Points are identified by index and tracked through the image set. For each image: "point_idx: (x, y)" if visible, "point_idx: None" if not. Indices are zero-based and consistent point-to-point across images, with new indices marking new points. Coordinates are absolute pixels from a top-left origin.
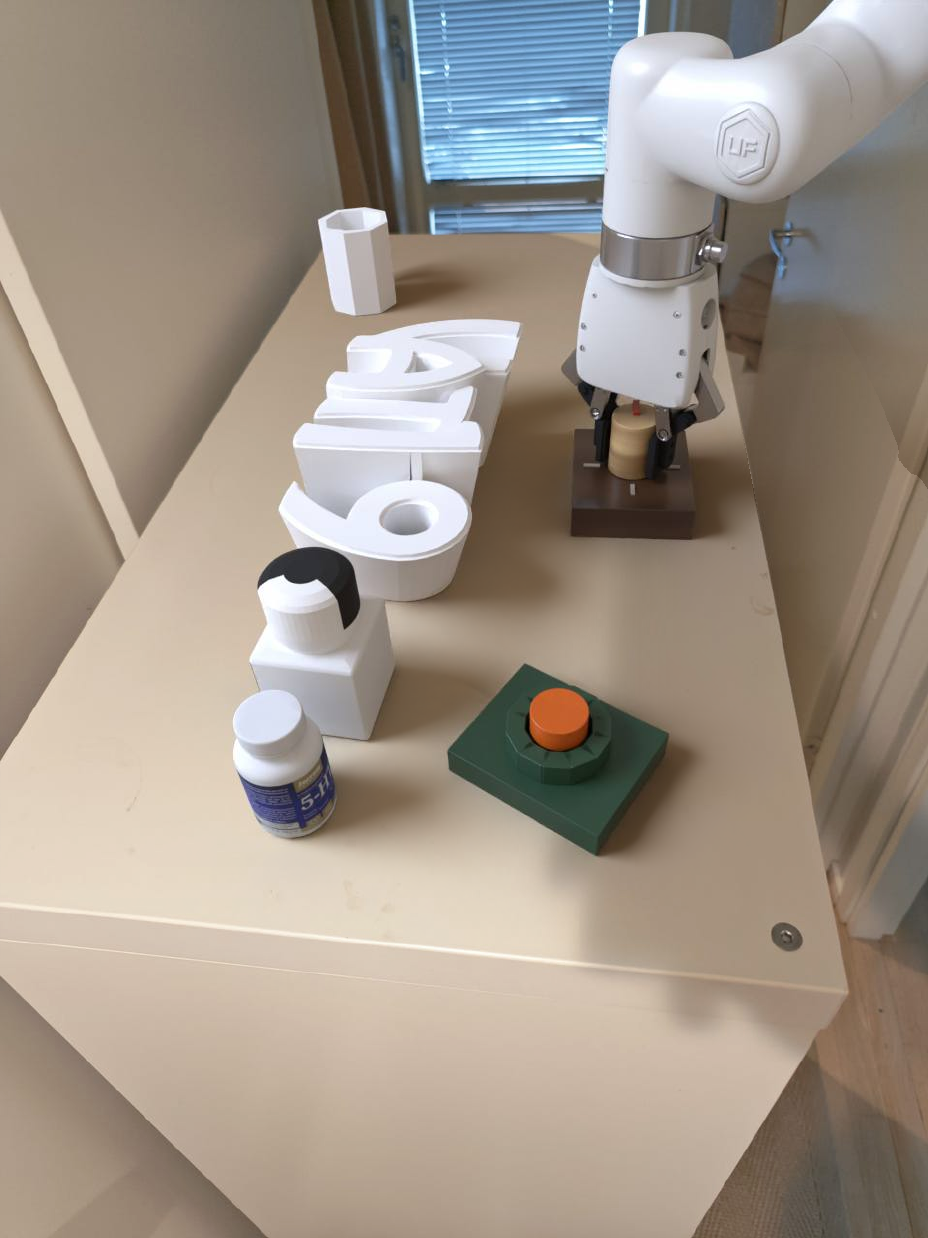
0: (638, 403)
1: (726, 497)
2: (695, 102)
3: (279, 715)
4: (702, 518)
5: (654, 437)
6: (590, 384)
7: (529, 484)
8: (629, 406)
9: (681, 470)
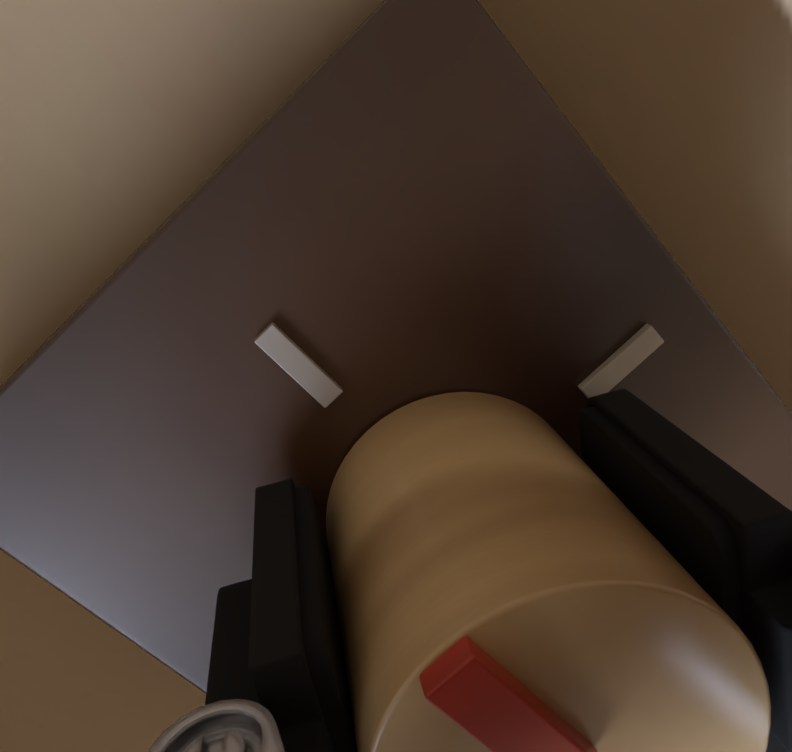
0: (511, 706)
1: (755, 123)
2: None
3: None
4: (743, 326)
5: (771, 743)
6: None
7: (50, 688)
8: (440, 732)
9: (672, 343)
